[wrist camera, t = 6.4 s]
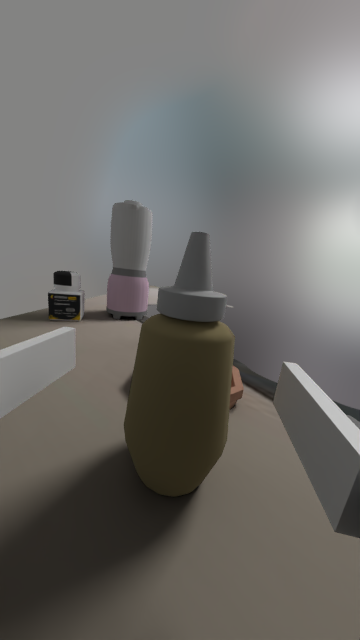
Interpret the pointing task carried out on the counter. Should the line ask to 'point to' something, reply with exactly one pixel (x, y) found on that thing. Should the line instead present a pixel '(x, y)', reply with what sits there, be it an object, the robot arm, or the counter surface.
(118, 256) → the blender
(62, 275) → the medicine bottle
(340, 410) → the robot arm
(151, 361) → the squeeze bottle
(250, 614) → the counter surface
